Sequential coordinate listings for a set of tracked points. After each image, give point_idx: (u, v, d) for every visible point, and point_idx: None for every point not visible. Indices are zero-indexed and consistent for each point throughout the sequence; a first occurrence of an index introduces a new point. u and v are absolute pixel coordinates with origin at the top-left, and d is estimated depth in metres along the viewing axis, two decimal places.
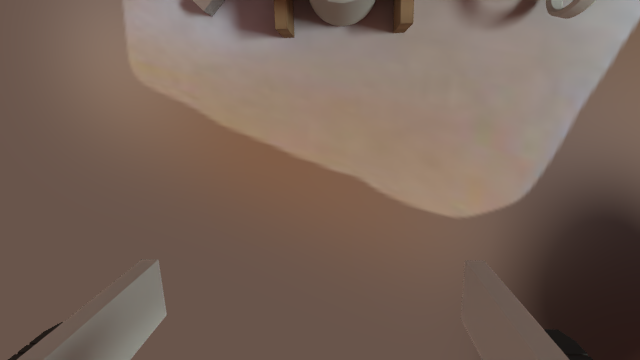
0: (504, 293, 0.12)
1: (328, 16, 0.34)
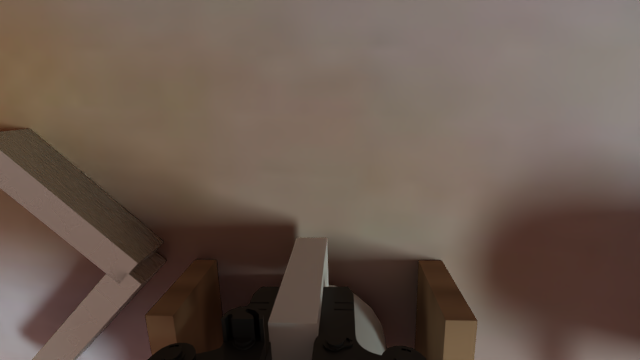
0: (318, 260, 0.14)
1: None
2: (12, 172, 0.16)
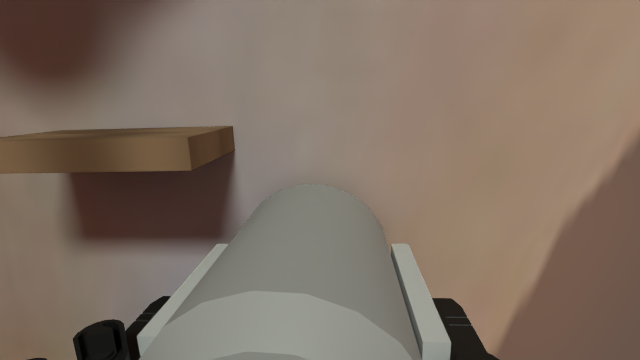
0: (412, 269, 0.13)
1: None
2: None
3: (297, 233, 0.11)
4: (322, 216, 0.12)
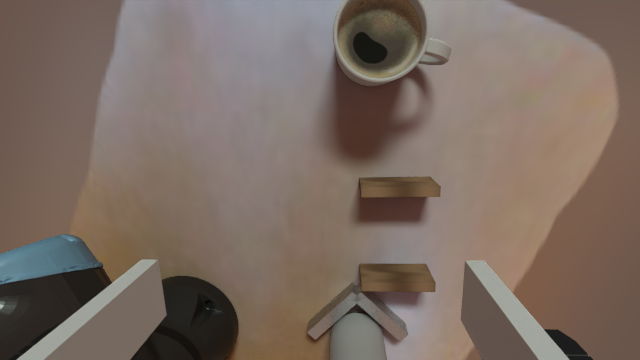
0: (504, 293, 0.12)
1: None
2: (319, 326, 0.47)
3: (359, 343, 0.42)
4: (363, 334, 0.44)
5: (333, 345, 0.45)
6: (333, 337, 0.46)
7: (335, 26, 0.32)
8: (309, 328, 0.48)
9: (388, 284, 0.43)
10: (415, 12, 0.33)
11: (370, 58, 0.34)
